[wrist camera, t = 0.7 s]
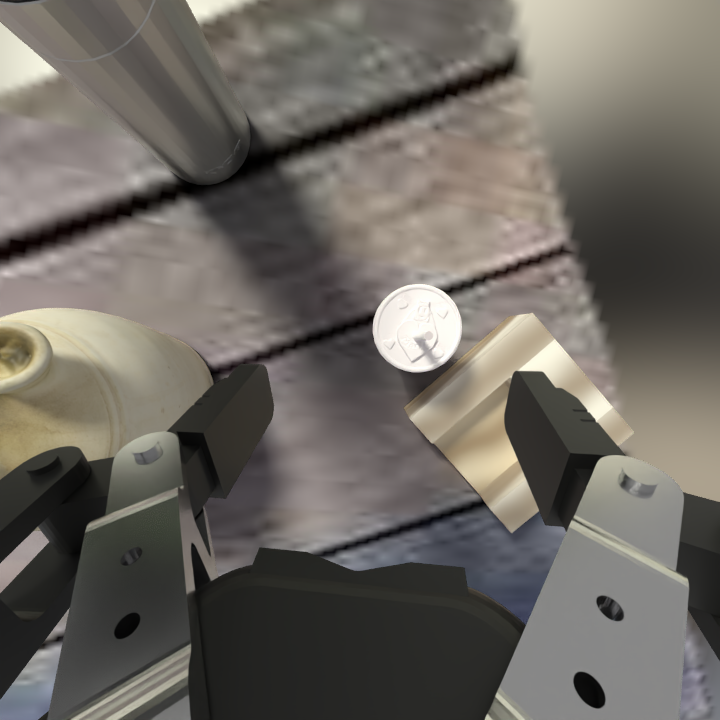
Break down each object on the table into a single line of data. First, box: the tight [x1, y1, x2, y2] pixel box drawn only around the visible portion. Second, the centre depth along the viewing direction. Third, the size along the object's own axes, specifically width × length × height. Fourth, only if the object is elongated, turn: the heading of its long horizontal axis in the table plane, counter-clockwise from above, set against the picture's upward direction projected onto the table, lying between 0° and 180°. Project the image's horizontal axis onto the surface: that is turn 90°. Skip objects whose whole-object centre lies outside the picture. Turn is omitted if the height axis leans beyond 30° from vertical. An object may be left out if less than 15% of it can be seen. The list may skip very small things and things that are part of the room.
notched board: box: [404, 313, 634, 533], centre depth 31 cm, size 14×14×4 cm
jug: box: [0, 308, 214, 531], centre depth 21 cm, size 15×16×25 cm
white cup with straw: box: [373, 284, 462, 372], centre depth 25 cm, size 6×6×14 cm
